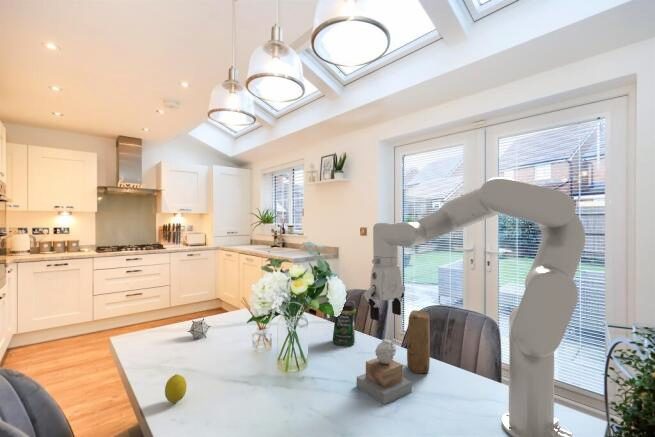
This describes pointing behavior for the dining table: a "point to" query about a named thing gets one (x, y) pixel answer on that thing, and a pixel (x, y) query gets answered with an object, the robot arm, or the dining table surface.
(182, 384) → the lemon
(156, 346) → the dining table surface
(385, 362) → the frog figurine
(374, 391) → the slate plinth
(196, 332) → the grey spiky faceted part
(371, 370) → the walnut block
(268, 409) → the dining table surface
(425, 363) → the block
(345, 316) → the coffee jar
